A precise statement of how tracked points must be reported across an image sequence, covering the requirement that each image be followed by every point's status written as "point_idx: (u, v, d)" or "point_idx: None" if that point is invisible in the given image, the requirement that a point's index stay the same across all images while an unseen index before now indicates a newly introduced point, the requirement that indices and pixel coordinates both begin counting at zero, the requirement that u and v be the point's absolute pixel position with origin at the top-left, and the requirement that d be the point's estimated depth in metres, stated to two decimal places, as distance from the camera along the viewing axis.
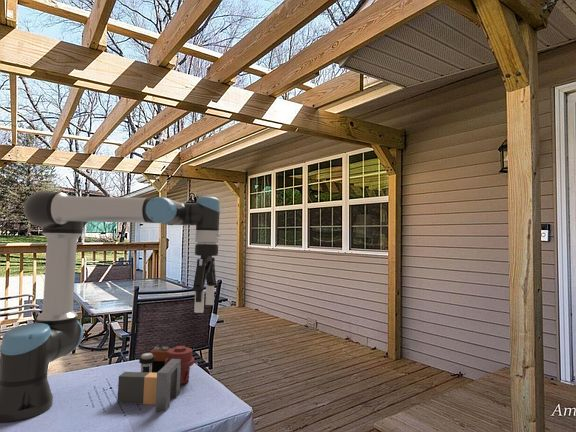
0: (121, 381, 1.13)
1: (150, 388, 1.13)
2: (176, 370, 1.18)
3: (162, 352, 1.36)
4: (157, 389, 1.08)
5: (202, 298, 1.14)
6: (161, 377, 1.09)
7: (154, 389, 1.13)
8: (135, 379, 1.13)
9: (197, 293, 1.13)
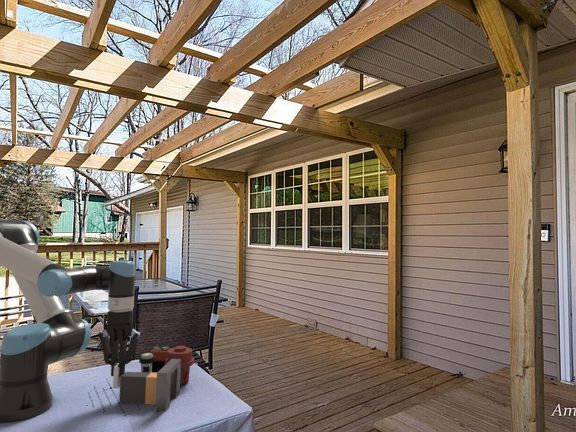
0: (123, 381, 1.13)
1: (152, 388, 1.13)
2: (176, 370, 1.18)
3: (162, 352, 1.36)
4: (157, 389, 1.08)
5: None
6: (161, 377, 1.09)
7: None
8: (136, 379, 1.13)
9: None
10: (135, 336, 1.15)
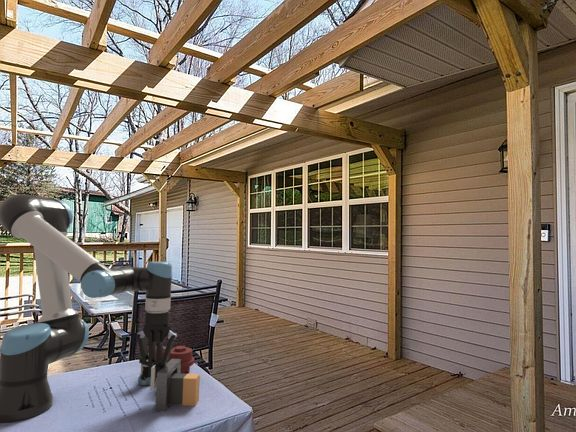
0: None
1: (189, 389, 1.13)
2: (176, 370, 1.18)
3: None
4: (157, 389, 1.08)
5: None
6: (161, 377, 1.09)
7: (193, 390, 1.12)
8: (173, 380, 1.13)
9: None
10: (172, 337, 1.14)
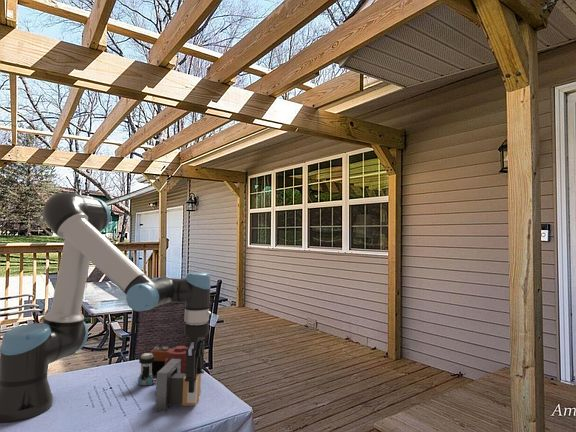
0: None
1: None
2: (176, 370, 1.18)
3: (162, 352, 1.36)
4: (157, 389, 1.08)
5: (195, 388, 1.12)
6: (161, 377, 1.09)
7: None
8: (173, 380, 1.13)
9: (190, 383, 1.11)
10: (204, 340, 1.21)
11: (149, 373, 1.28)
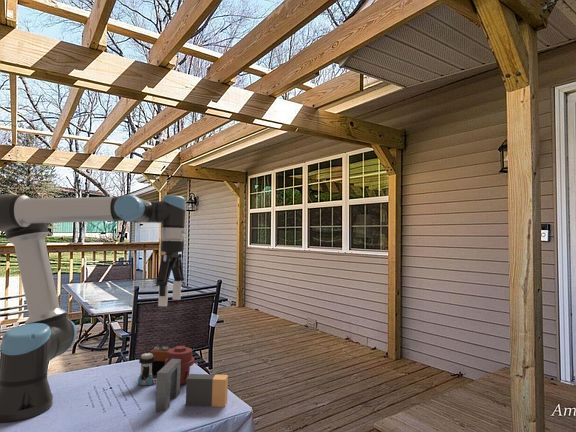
0: (189, 384, 1.13)
1: (218, 390, 1.12)
2: (176, 370, 1.18)
3: (162, 352, 1.36)
4: (157, 389, 1.08)
5: (166, 292, 1.19)
6: (161, 377, 1.09)
7: (222, 391, 1.12)
8: (203, 381, 1.12)
9: (161, 287, 1.18)
10: (181, 256, 1.33)
11: (149, 373, 1.28)
